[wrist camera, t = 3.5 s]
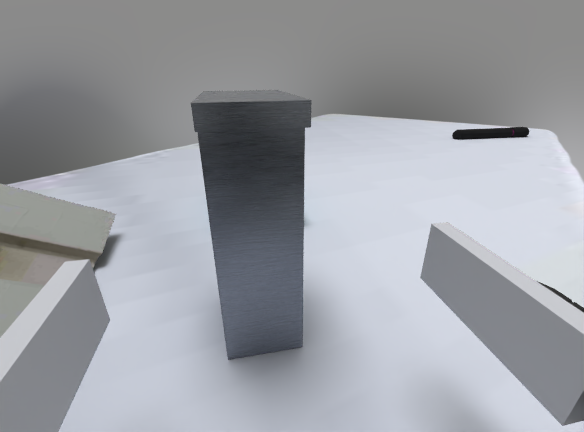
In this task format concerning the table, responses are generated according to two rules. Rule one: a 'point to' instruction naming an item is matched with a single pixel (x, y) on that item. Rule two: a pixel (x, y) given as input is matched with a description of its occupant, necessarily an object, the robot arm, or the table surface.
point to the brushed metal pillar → (256, 212)
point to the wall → (42, 244)
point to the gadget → (491, 133)
